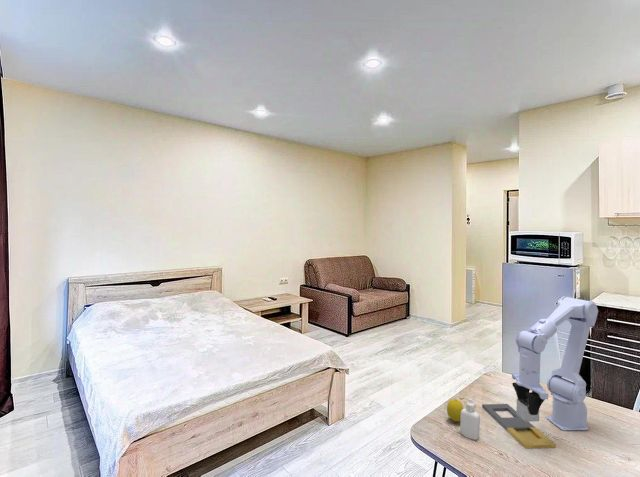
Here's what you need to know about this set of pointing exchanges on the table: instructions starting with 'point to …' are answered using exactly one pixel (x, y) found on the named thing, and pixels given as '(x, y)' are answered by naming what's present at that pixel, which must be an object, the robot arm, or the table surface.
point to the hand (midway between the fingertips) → (528, 410)
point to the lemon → (454, 409)
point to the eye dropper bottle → (470, 421)
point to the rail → (519, 427)
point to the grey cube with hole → (525, 411)
